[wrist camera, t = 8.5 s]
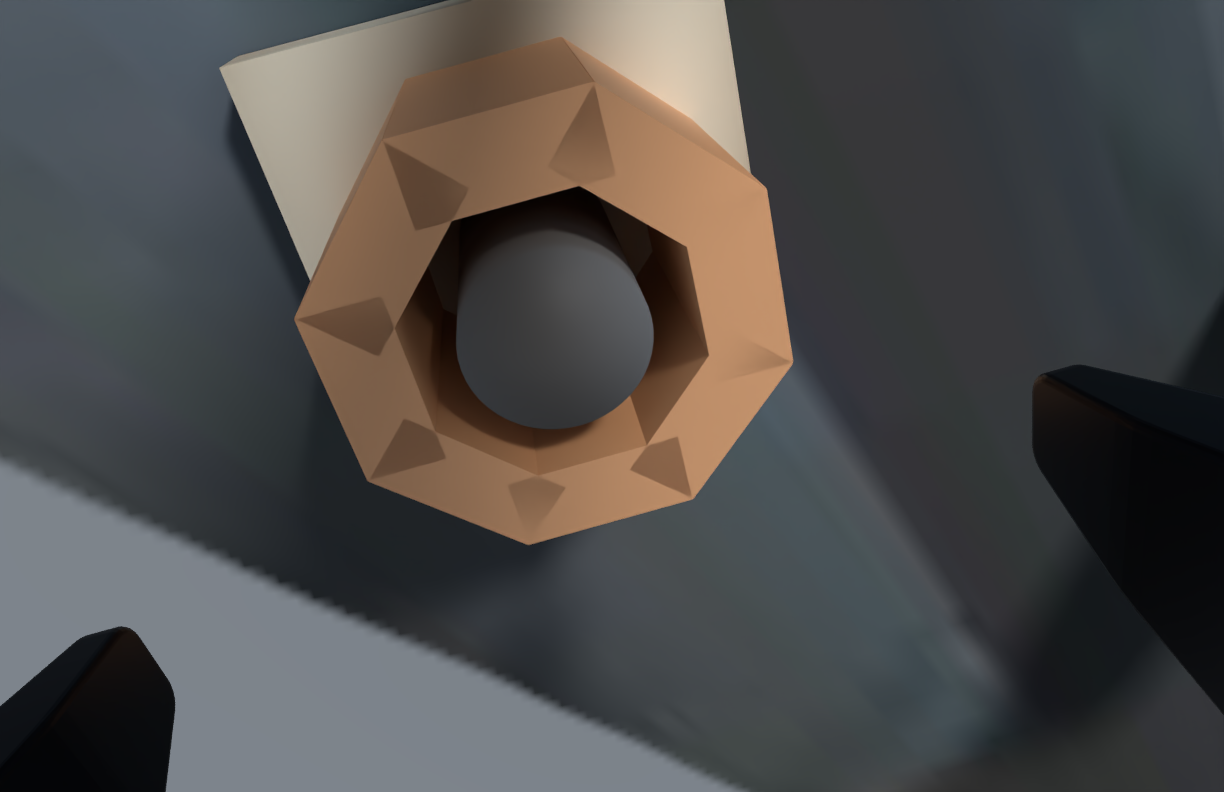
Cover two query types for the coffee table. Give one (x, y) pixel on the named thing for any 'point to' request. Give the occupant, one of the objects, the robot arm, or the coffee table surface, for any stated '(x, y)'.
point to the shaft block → (511, 235)
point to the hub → (426, 333)
